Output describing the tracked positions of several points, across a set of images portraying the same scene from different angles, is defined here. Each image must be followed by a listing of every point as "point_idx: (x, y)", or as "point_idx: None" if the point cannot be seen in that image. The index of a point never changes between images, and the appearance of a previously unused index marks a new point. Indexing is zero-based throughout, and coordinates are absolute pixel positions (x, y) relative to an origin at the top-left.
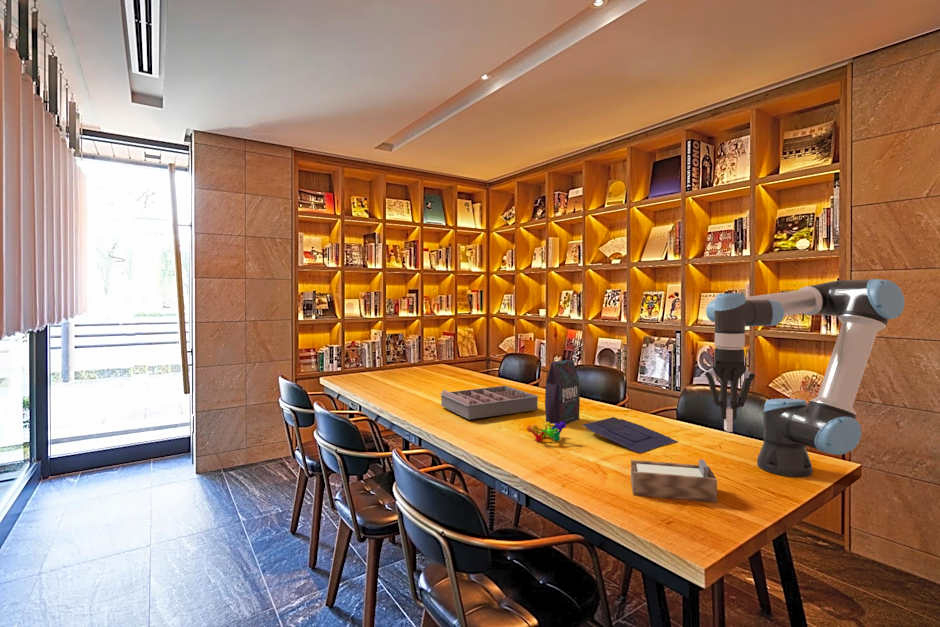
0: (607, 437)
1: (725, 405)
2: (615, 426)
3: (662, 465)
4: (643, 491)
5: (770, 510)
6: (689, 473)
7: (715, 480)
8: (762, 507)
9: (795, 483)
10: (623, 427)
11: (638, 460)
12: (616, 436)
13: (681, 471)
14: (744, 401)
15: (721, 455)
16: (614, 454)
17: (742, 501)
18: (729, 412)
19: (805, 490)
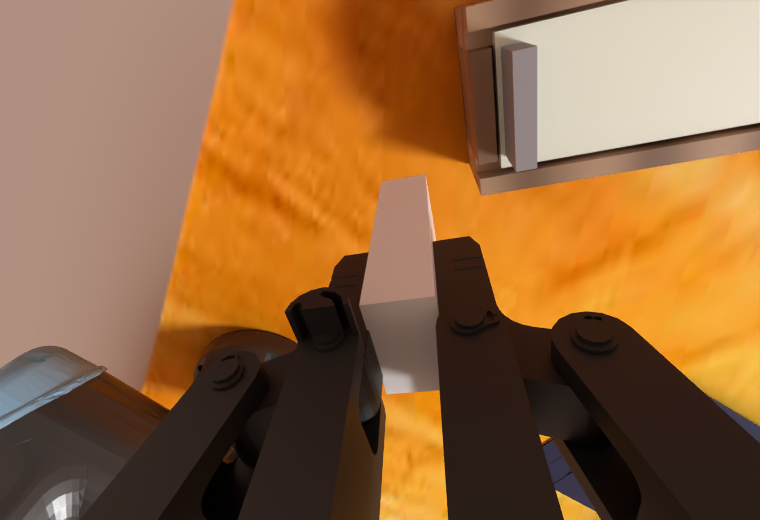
0: (756, 432)
1: (457, 328)
2: None
3: (692, 138)
4: None
5: (272, 28)
6: (582, 72)
7: (472, 5)
8: (298, 47)
9: (229, 294)
10: None
11: None
12: None
13: (617, 85)
14: (169, 424)
15: (409, 412)
16: (751, 338)
17: (362, 76)
18: (399, 271)
19: (201, 255)
